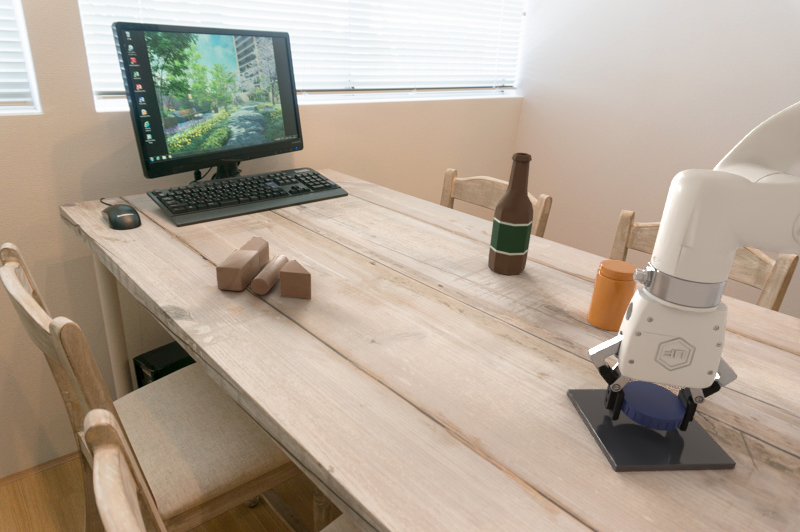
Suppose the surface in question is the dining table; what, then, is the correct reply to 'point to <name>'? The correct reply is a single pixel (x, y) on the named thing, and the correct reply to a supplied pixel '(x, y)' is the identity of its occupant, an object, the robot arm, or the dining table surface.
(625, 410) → the jar lid
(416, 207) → the dining table surface
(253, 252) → the wooden block set
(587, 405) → the slate coaster
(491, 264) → the beer bottle
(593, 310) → the honey jar
